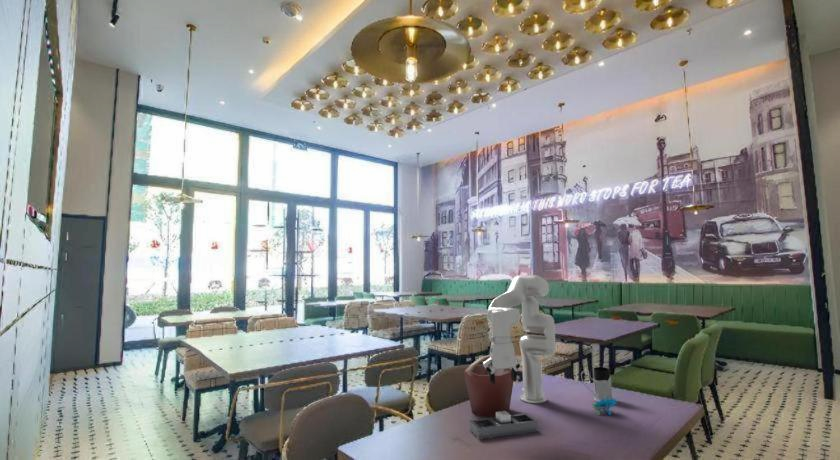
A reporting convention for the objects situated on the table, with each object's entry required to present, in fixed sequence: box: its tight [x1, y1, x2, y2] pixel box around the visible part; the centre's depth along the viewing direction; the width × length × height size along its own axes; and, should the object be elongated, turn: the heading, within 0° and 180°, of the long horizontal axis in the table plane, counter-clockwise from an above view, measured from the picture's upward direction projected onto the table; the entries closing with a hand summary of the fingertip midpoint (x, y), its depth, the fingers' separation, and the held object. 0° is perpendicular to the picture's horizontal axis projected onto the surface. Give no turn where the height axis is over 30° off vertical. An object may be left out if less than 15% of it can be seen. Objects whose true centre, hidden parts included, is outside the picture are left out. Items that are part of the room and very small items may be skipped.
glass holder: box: [580, 366, 613, 402], centre depth 196 cm, size 9×14×15 cm, turn 74°
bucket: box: [463, 354, 515, 418], centre depth 184 cm, size 24×22×25 cm
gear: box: [591, 397, 617, 416], centre depth 176 cm, size 11×6×10 cm
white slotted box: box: [496, 411, 511, 425], centre depth 160 cm, size 4×4×7 cm
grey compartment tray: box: [469, 413, 539, 440], centre depth 160 cm, size 26×9×4 cm, turn 105°
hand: (503, 381), depth 163 cm, fingers open, 9 cm apart
